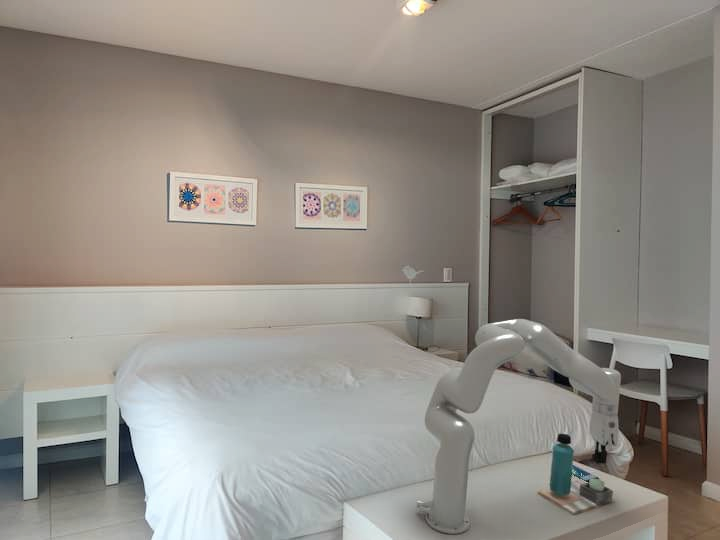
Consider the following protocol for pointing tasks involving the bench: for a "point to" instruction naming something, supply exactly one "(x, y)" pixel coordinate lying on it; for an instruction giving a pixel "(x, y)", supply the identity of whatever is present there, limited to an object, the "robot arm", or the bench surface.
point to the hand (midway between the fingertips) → (599, 462)
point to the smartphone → (578, 474)
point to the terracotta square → (559, 497)
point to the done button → (596, 485)
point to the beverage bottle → (562, 466)
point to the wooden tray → (585, 498)
